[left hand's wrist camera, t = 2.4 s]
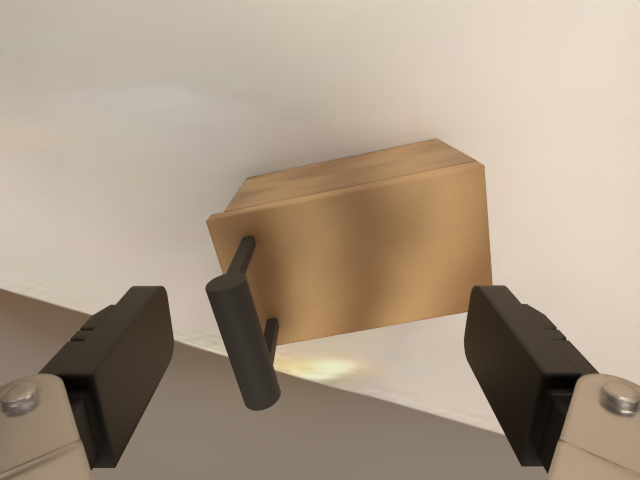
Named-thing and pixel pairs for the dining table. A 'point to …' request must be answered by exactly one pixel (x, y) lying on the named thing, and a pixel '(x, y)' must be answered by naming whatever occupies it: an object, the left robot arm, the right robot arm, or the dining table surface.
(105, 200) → the dining table surface
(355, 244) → the lid
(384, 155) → the chest
